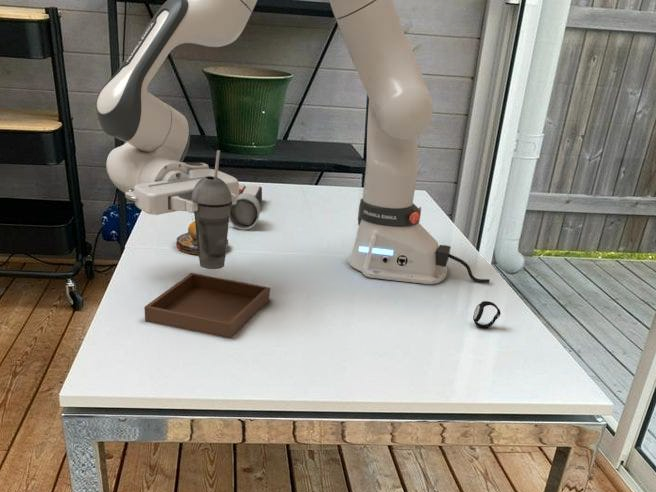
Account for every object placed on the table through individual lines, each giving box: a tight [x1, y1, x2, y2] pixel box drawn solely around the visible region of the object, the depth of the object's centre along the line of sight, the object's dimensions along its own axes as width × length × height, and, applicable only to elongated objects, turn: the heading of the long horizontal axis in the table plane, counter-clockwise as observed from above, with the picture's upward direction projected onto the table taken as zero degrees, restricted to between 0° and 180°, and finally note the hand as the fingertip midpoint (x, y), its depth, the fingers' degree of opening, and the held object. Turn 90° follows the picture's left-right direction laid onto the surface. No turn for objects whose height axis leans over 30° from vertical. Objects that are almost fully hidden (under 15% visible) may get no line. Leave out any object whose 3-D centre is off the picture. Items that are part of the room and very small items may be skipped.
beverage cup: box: [191, 149, 233, 270], centre depth 135 cm, size 7×7×20 cm
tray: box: [144, 272, 271, 340], centre depth 145 cm, size 17×20×3 cm
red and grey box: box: [239, 183, 263, 205], centre depth 206 cm, size 11×4×15 cm
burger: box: [175, 217, 229, 255], centre depth 174 cm, size 12×12×8 cm
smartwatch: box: [472, 300, 502, 330], centre depth 148 cm, size 4×5×5 cm
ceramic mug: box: [229, 193, 261, 231], centre depth 190 cm, size 11×8×8 cm
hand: (215, 204), depth 134 cm, fingers closed on beverage cup, 7 cm apart
